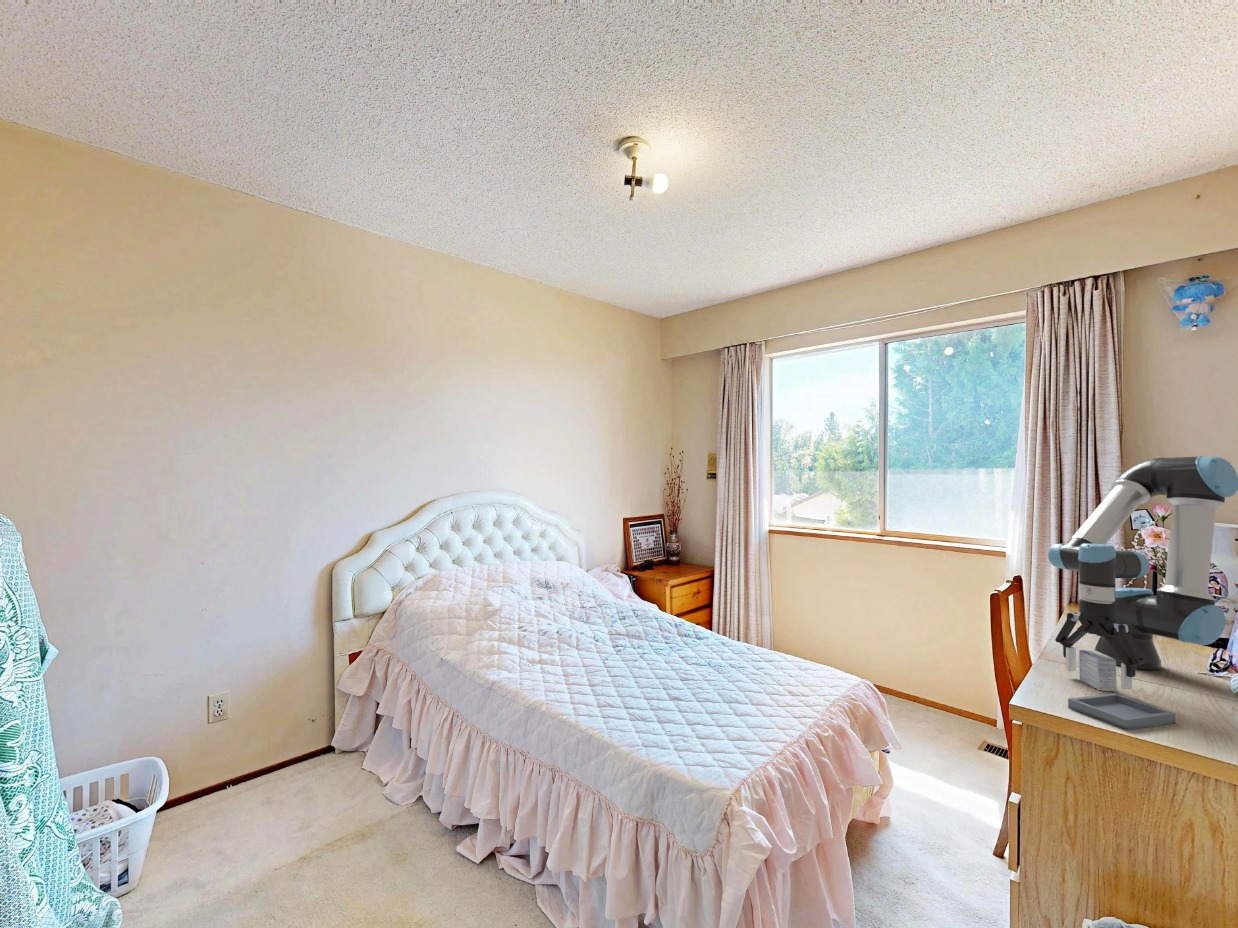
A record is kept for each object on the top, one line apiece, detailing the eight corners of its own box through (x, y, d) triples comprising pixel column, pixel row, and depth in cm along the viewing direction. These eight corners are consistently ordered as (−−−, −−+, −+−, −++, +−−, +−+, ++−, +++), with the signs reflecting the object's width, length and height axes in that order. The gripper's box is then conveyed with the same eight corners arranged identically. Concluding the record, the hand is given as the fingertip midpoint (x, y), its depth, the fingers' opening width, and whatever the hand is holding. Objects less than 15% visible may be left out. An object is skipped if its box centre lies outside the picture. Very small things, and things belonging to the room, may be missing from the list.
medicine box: (1117, 692, 141) (1117, 659, 141) (1098, 690, 142) (1097, 658, 142) (1097, 681, 148) (1097, 650, 149) (1078, 680, 149) (1078, 649, 150)
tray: (1115, 701, 134) (1114, 692, 134) (1175, 722, 123) (1175, 713, 123) (1068, 707, 130) (1068, 698, 130) (1126, 729, 118) (1126, 719, 118)
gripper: (1040, 591, 157) (1040, 664, 156) (1142, 612, 133) (1143, 698, 132) (1059, 590, 159) (1059, 662, 158) (1163, 610, 135) (1163, 695, 134)
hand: (1097, 679), depth 145 cm, fingers open, 13 cm apart
